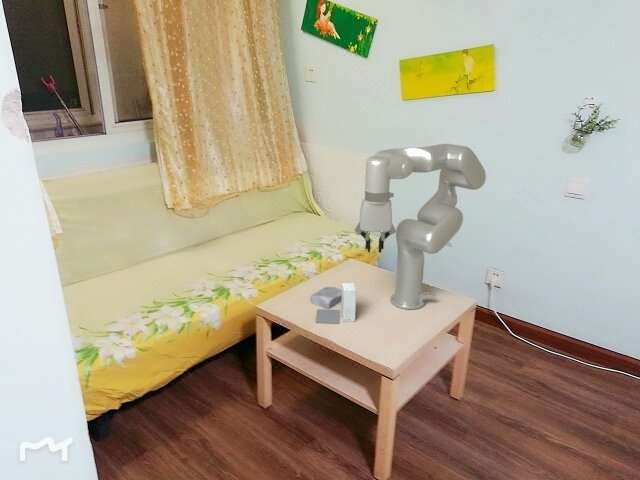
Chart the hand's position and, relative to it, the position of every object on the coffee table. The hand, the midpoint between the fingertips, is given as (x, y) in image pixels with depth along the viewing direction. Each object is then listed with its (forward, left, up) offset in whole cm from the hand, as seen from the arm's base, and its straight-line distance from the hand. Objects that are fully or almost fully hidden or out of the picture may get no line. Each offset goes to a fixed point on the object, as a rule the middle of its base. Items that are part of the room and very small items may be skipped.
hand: (374, 250), depth 152 cm
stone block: (+16, -13, -26) cm, 33 cm away
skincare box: (+8, 0, -25) cm, 27 cm away
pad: (+15, 0, -25) cm, 29 cm away
